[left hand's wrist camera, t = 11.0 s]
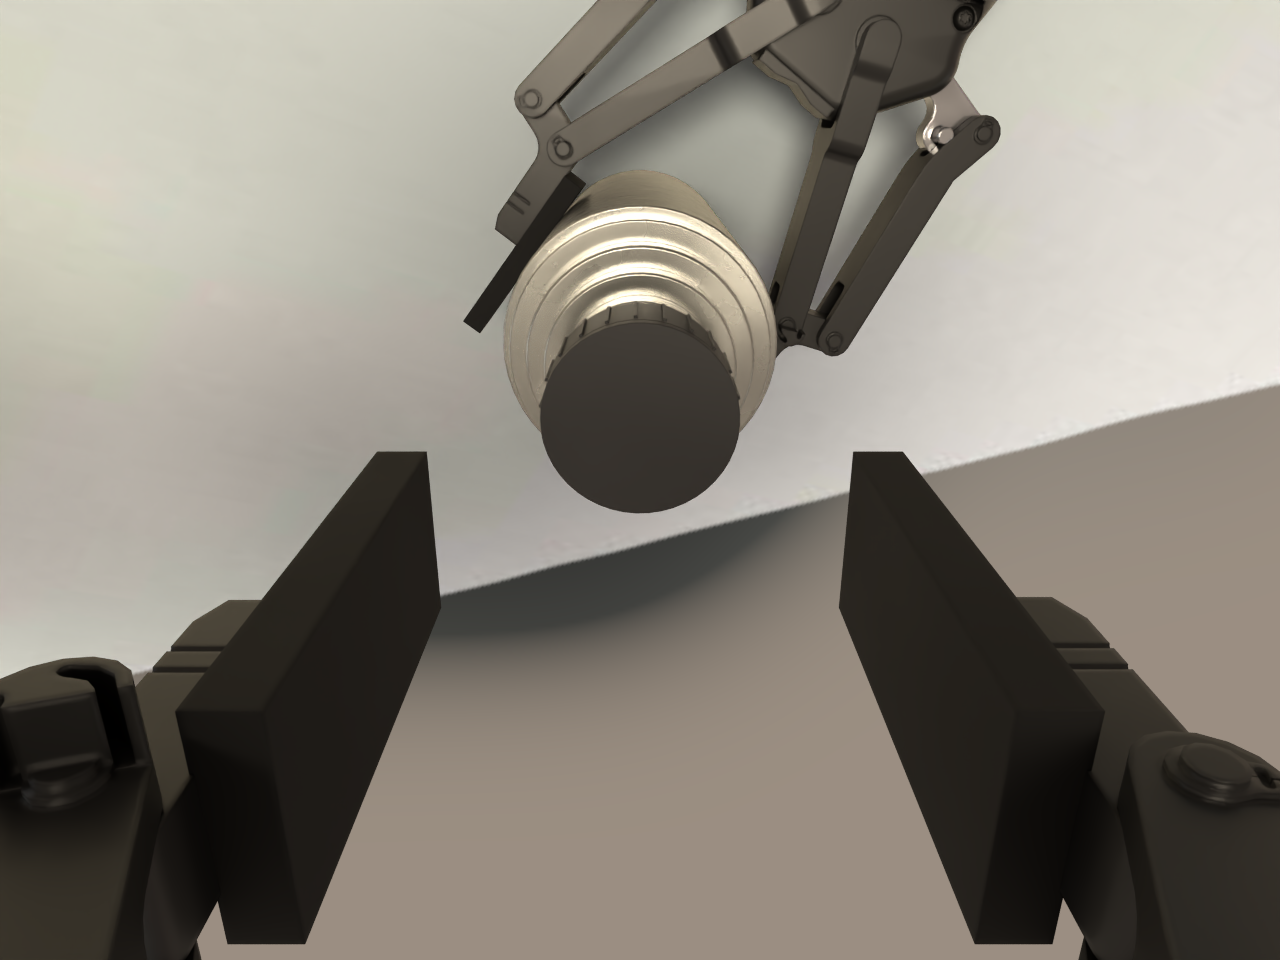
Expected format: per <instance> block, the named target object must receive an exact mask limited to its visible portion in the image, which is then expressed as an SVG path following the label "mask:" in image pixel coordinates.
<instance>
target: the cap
mask: <svg viewBox="0 0 1280 960" xmlns="http://www.w3.org/2000/svg"><path fill="white" fill-rule="evenodd" d="M731 373H732V370H731V367H730V364H729V361H728V359H727V356H726V353H725V352H723V353H722V351H721V350H720V348H719V346H718V345H717V343H716V342H715V340H714V339H713V336H712V333H711V331H710V330H709V331H708V332H707V331H706V330H705V329H704V328H703V327H702V326H701V325H700V324H698V323H697V322H696V321H694V320H693V319H692V318H691V315H690V314H687V315H685V314H683V313H681V312H679V311H677V310H674V309H671V308H669V307H666V306H665V304H662V305H657V304H648V303H638V301H634V303H631V304H625V305H619V306H615V307H612V308H611V306H608V307H607V309H606V310H604V311H602V312H599V313H597V314H595V315H594V316H592V317H590V318H589V319H586V318H585V319H583V321H582V324H581V325H579V326H578V327H577V328H576V329H575V330H574V331H573V332H572V333H571V334H570V335H569V336H568V337H566V336H565V338H564V339H563V342H562V345H561V348H560V350H559V352H558V354H557V356H556V358H555V360H554V359H552V361H551V364H550V367H549V369H548V372H547V375H546V378H545V381H547V384H546V387H545V390H544V392H543V395H542V398H541V401H540V404H539V408H541V409H540V427H541V434H542V439H543V443H544V446H545V449H546V451H547V454H548V456H549V458H550V460H551V462H552V464H553V466H554V467H555V469H556V470H557V472H558V473H559V474H560V476H561V477H562V478H563V479H564V480H565V481H566V482H567V483H568V485H570V486H571V487H572V488H573V489H574V490H575V491H577V492H578V493H579V494H581V495H582V496H584V497H585V498H587V499H588V500H590V501H592V502H594V503H596V504H598V505H601V506H603V507H606V508H609V509H612V510H617V511H621V512H629V513H652V512H659V511H664V510H667V509H671V508H674V507H677V506H679V505H682V504H684V503H686V502H688V501H690V500H692V499H693V498H695V497H697V496H698V495H700V494H701V493H702V492H704V491H705V490H706V489H707V488H708V487H709V486H711V485H712V484H713V483H714V482H715V481H716V479H717V478H718V477H719V476H720V475H721V473H722V472H723V471H724V469H725V467H726V466H727V464H728V463H729V461H730V459H731V457H732V454H733V452H734V450H735V447H736V443H737V440H738V436H739V429H740V407H739V400H740V395H739V392H738V390H737V387H736V384H735V381H734V378H733V377H731Z"/></svg>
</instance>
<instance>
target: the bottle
mask: <svg viewBox="0 0 1280 960" xmlns="http://www.w3.org/2000/svg"><path fill="white" fill-rule="evenodd" d="M634 301H638V303H648V304H657V305H662V304H665V306H666V307H669V308H671V309H674V310H677V311H679V312H681V313H683V314H685V315H687V314H690V315H691V318H692V319H693V320H694V321H696V322H697V323H698V324H700V325H701V326H702V327H703V328H704V329H705V330H706V331H707V332H708V331H709V330H710V331H711V333H712V336H713V339H714V340H715V342H716V343H717V345H718V346H719V348H720V350H721V351H722V353H723V352H725V353H726V356H727V359H728V361H729V364H730V367H731V370H732V373H731V377H733V378H734V381H735V384H736V387H737V390H738V392H739V395H740V400H739V407H740V429H739V432H740V431H741V430H742V429H743V428H744V427H745V425H746V424H747V423H748V422H749V421H750V419H751V418H752V417H753V415H754V414H755V412H756V410H757V409H758V407H759V405H760V404H761V402H762V400H763V398H764V396H765V393H766V391H767V389H768V387H769V383H770V380H771V377H772V374H773V370H774V364H775V358H776V351H777V330H776V321H775V315H774V311H773V306H772V302H771V299H770V296H769V294H768V291H767V289H766V286H765V283H764V282H763V280H762V278H761V276H760V274H759V273H758V271H757V269H756V267H755V266H754V265H753V263H752V262H751V261H750V259H749V258H748V257H747V255H746V254H745V253H744V251H743V250H742V249H741V247H740V246H739V245H738V243H737V242H736V241H735V239H734V238H733V237H732V235H731V234H730V233H729V231H728V230H727V229H726V228H725V226H724V225H723V224H722V222H721V221H720V220H719V218H718V217H717V216H716V214H715V213H714V212H713V210H712V209H711V208H710V206H709V205H708V204H707V202H706V201H705V200H704V199H703V198H702V197H701V196H700V195H699V194H698V193H697V192H696V191H695V190H694V189H692V188H691V187H690V186H689V185H687V184H686V183H684V182H682V181H680V180H679V179H677V178H674V177H672V176H669V175H667V174H663V173H659V172H656V171H647V170H632V171H626V172H620V173H617V174H614V175H610V176H608V177H606V178H604V179H602V180H599V181H598V182H596V183H595V184H593V185H592V186H590V187H589V188H588V189H586V190H585V191H584V192H583V193H582V194H581V195H580V196H579V197H578V198H577V199H576V200H575V201H574V203H573V204H572V205H571V206H570V208H569V209H568V210H567V212H566V213H565V214H564V216H563V217H562V218H561V220H560V221H559V222H558V223H557V225H556V226H555V227H554V229H553V230H552V231H551V233H550V234H549V235H548V237H547V238H546V239H545V241H544V242H543V243H542V245H541V246H540V247H539V249H538V250H537V251H536V252H535V254H534V255H533V256H532V258H531V259H530V261H529V262H528V264H527V265H526V267H525V268H524V270H523V271H522V273H521V274H520V276H519V278H518V280H517V283H516V285H515V287H514V289H513V291H512V294H511V297H510V300H509V303H508V306H507V311H506V317H505V322H504V336H503V346H504V358H505V364H506V368H507V373H508V377H509V380H510V383H511V385H512V388H513V391H514V393H515V395H516V397H517V399H518V401H519V403H520V405H521V407H522V409H523V410H524V412H525V413H526V415H527V416H528V418H529V419H530V420H531V422H532V423H533V424H534V425H535V426H536V428H537V429H538V430H539V431H540V432H541V427H540V409H541V408H539V404H540V401H541V398H542V395H543V392H544V390H545V387H546V384H547V381H545V378H546V375H547V372H548V369H549V367H550V364H551V361H552V359H554V360H555V358H556V356H557V354H558V352H559V350H560V348H561V345H562V342H563V339H564V338H565V336H566V337H568V336H569V335H570V334H571V333H572V332H573V331H574V330H575V329H576V328H577V327H578V326H579V325H581V324H582V321H583V319H585V318H586V319H589V318H590V317H592V316H594V315H595V314H597V313H599V312H602V311H604V310H606V309H607V307H608V306H611V308H612V307H615V306H619V305H625V304H631V303H634Z"/></svg>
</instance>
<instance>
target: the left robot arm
mask: <svg viewBox="0 0 1280 960" xmlns="http://www.w3.org/2000/svg"><path fill="white" fill-rule="evenodd" d="M440 609H441V602H440V591H439V580H438V569H437V558H436V547H435V537H434V526H433V515H432V504H431V493H430V482H429V472H428V461H427V452H377V453H376V454H375V455H374V456H373V458H372V459H371V460H370V462H369V463H368V464H367V465H366V467H365V468H364V469H363V471H362V472H361V473H360V474H359V476H358V477H357V478H356V480H355V481H354V482H353V483H352V485H351V486H350V487H349V489H348V490H347V491H346V492H345V494H344V495H343V496H342V498H341V499H340V500H339V501H338V503H337V504H336V505H335V506H334V508H333V509H332V510H331V512H330V513H329V514H328V515H327V517H326V518H325V519H324V521H323V522H322V523H321V524H320V526H319V527H318V528H317V530H316V531H315V532H314V533H313V535H312V536H311V537H310V539H309V540H308V541H307V542H306V544H305V545H304V546H303V548H302V549H301V550H300V551H299V553H298V554H297V555H296V556H295V558H294V559H293V560H292V562H291V563H290V564H289V565H288V567H287V568H286V569H285V571H284V572H283V573H282V574H281V576H280V577H279V578H278V580H277V581H276V582H275V583H274V585H273V586H272V587H271V589H270V590H269V591H268V592H267V594H266V595H265V596H264V598H263V599H262V600H228V601H226V602H225V603H223V604H221V605H220V606H218V607H216V608H215V609H213V610H212V611H210V612H208V613H207V614H205V615H203V616H202V617H200V618H198V619H197V620H195V621H193V622H192V623H191V625H190V626H189V627H188V628H187V629H186V630H185V631H184V633H183V634H182V635H181V636H180V637H179V638H178V639H177V640H176V642H175V643H174V644H173V645H172V646H171V652H166V653H165V654H164V655H163V656H162V657H161V659H160V660H159V661H158V662H157V663H156V664H155V665H154V667H153V672H152V673H147V674H146V676H145V677H144V678H143V679H142V680H141V681H140V682H139V684H138V685H137V686H136V687H135V684H134V680H133V676H132V672H131V670H130V669H128V668H127V667H126V666H124V665H123V664H121V663H120V662H118V661H116V660H110V659H104V658H98V657H82V658H68V659H61V660H56V661H52V662H48V663H44V664H40V665H36V666H32V667H28V668H26V669H24V670H21V671H19V672H16V673H14V674H11V675H9V676H6V677H4V678H1V679H0V960H201V956H200V951H199V947H198V943H197V938H198V936H199V935H200V933H201V931H202V929H203V927H204V925H205V923H206V922H207V920H208V918H209V916H210V914H211V912H212V910H213V909H214V907H215V905H216V903H217V901H218V904H219V908H220V913H221V917H222V922H223V926H224V931H225V935H226V939H227V944H305V943H306V941H307V938H308V936H309V933H310V931H311V928H312V926H313V923H314V921H315V918H316V916H317V914H318V911H319V908H320V906H321V904H322V901H323V899H324V896H325V894H326V891H327V889H328V886H329V884H330V881H331V879H332V876H333V874H334V871H335V869H336V866H337V864H338V861H339V859H340V856H341V854H342V852H343V849H344V847H345V844H346V842H347V839H348V837H349V834H350V832H351V829H352V827H353V824H354V822H355V819H356V817H357V814H358V812H359V809H360V807H361V805H362V802H363V800H364V797H365V795H366V792H367V790H368V787H369V785H370V782H371V780H372V777H373V775H374V772H375V770H376V767H377V765H378V762H379V760H380V757H381V755H382V753H383V750H384V747H385V745H386V743H387V740H388V738H389V735H390V732H391V730H392V728H393V725H394V723H395V720H396V718H397V715H398V713H399V710H400V708H401V705H402V703H403V701H404V698H405V696H406V693H407V691H408V688H409V686H410V683H411V681H412V678H413V676H414V673H415V671H416V668H417V666H418V663H419V661H420V658H421V656H422V653H423V651H424V648H425V646H426V644H427V641H428V639H429V636H430V634H431V631H432V629H433V626H434V624H435V621H436V619H437V616H438V614H439V611H440ZM839 609H840V611H841V614H842V616H843V619H844V621H845V624H846V626H847V629H848V631H849V634H850V636H851V638H852V641H853V644H854V646H855V648H856V651H857V653H858V656H859V658H860V661H861V663H862V666H863V668H864V671H865V673H866V676H867V678H868V681H869V683H870V686H871V688H872V691H873V693H874V696H875V698H876V701H877V703H878V705H879V708H880V710H881V713H882V715H883V718H884V720H885V723H886V725H887V728H888V730H889V733H890V735H891V738H892V740H893V743H894V745H895V748H896V750H897V753H898V755H899V757H900V760H901V762H902V765H903V767H904V770H905V772H906V775H907V777H908V780H909V782H910V785H911V787H912V790H913V792H914V795H915V797H916V800H917V802H918V804H919V807H920V809H921V812H922V814H923V817H924V819H925V822H926V824H927V827H928V829H929V832H930V834H931V837H932V839H933V842H934V844H935V847H936V849H937V852H938V854H939V857H940V859H941V861H942V864H943V866H944V869H945V871H946V874H947V876H948V879H949V881H950V884H951V886H952V889H953V891H954V894H955V896H956V899H957V901H958V904H959V906H960V909H961V911H962V913H963V916H964V918H965V921H966V923H967V926H968V928H969V931H970V933H971V936H972V938H973V941H974V943H975V944H1053V939H1054V935H1055V931H1056V926H1057V922H1058V917H1059V913H1060V909H1061V904H1062V900H1063V898H1064V900H1065V902H1066V904H1067V906H1068V907H1069V909H1070V911H1071V913H1072V915H1073V917H1074V919H1075V921H1076V922H1077V924H1078V926H1079V928H1080V930H1081V932H1082V934H1083V935H1084V939H1083V943H1082V948H1081V952H1080V956H1079V960H1280V771H1278V770H1277V769H1276V768H1274V767H1273V766H1271V765H1270V764H1269V763H1267V762H1266V761H1265V760H1263V759H1262V758H1261V757H1259V756H1257V755H1255V754H1253V753H1251V752H1249V751H1246V750H1244V749H1242V748H1240V747H1238V746H1236V745H1234V744H1231V743H1229V742H1227V741H1223V740H1219V739H1216V738H1212V737H1208V736H1205V735H1201V734H1198V733H1189V732H1188V731H1187V730H1186V729H1185V728H1184V727H1183V726H1182V724H1181V723H1180V722H1179V721H1178V720H1177V719H1176V718H1175V717H1174V715H1173V714H1172V713H1171V712H1170V711H1169V710H1168V709H1167V708H1166V706H1165V705H1164V704H1163V703H1162V702H1161V701H1160V700H1159V699H1158V697H1157V696H1156V695H1155V694H1154V693H1153V692H1152V691H1151V690H1150V688H1149V687H1148V686H1147V685H1146V684H1145V683H1144V682H1143V681H1142V679H1141V678H1140V677H1139V676H1138V675H1137V674H1136V673H1135V671H1134V670H1132V669H1128V664H1127V662H1126V661H1125V660H1124V659H1123V658H1122V657H1121V656H1120V655H1119V653H1118V652H1117V651H1116V650H1115V649H1114V648H1110V646H1109V642H1108V641H1107V640H1106V639H1105V638H1104V637H1103V635H1102V634H1101V633H1100V632H1099V631H1098V630H1097V629H1096V628H1095V626H1094V625H1093V624H1092V623H1091V622H1090V621H1089V620H1088V619H1087V618H1086V617H1084V616H1082V615H1081V614H1079V613H1077V612H1076V611H1074V610H1072V609H1071V608H1069V607H1067V606H1066V605H1064V604H1062V603H1061V602H1059V601H1057V600H1056V599H1054V598H1052V597H1016V596H1015V595H1014V594H1013V592H1012V591H1011V590H1010V589H1009V587H1008V586H1007V585H1006V583H1005V582H1004V581H1003V580H1002V578H1001V577H1000V576H999V574H998V573H997V572H996V571H995V569H994V568H993V567H992V565H991V564H990V563H989V562H988V560H987V559H986V558H985V556H984V555H983V554H982V553H981V551H980V550H979V549H978V548H977V546H976V545H975V544H974V542H973V541H972V540H971V539H970V537H969V536H968V535H967V533H966V532H965V531H964V530H963V528H962V527H961V526H960V524H959V523H958V522H957V521H956V519H955V518H954V517H953V515H952V514H951V513H950V512H949V510H948V509H947V508H946V506H945V505H944V504H943V503H942V501H941V500H940V499H939V498H938V496H937V495H936V494H935V492H934V491H933V490H932V489H931V487H930V486H929V485H928V483H927V482H926V481H925V480H924V478H923V477H922V476H921V474H920V473H919V472H918V471H917V469H916V468H915V467H914V465H913V464H912V463H911V462H910V460H909V459H908V458H907V456H906V455H905V454H904V453H903V452H853V461H852V472H851V482H850V493H849V504H848V515H847V526H846V537H845V548H844V558H843V569H842V580H841V591H840V602H839Z"/></svg>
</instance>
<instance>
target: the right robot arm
mask: <svg viewBox="0 0 1280 960" xmlns="http://www.w3.org/2000/svg"><path fill="white" fill-rule="evenodd" d="M656 1H657V0H597V2H596V3H595V4H594V5H593V6H592V7H591V8H590V9H589V10H588V11H587V12H586V13H585V15H584V16H583V17H582V18H581V19H580V20H579V21H578V22H577V23H576V24H575V25H574V26H573V28H572V29H571V30H570V31H569V32H568V33H567V34H566V35H565V36H564V37H563V38H562V40H561V41H560V42H559V43H558V44H557V45H556V46H555V47H554V48H553V49H552V50H551V51H550V53H549V54H548V55H547V56H546V57H545V58H544V59H543V60H542V61H541V62H540V63H539V64H538V66H537V67H536V68H535V69H534V70H533V71H532V72H531V73H530V74H529V75H528V76H527V78H526V79H525V80H524V81H523V82H522V83H521V84H520V85H519V87H518V88H517V90H516V92H515V98H514V100H515V105H516V107H517V109H518V110H519V112H520V113H521V114H522V115H523V116H524V118H525V119H526V121H527V122H528V124H529V125H530V127H531V129H532V130H533V132H534V133H535V135H536V137H537V140H538V144H539V150H538V155H537V157H536V159H535V161H534V163H533V164H532V165H531V167H530V168H529V170H528V171H527V173H526V174H525V176H524V177H523V179H522V180H521V182H520V183H519V185H518V186H517V188H516V189H515V190H514V192H513V193H512V195H511V196H510V198H509V199H508V201H507V202H506V204H505V205H504V207H503V208H502V210H501V211H500V212H499V214H498V217H497V222H496V227H495V230H497V231H498V232H499V233H501V234H502V235H503V236H505V237H506V238H507V239H509V240H510V241H511V242H513V243H514V244H515V245H516V246H515V248H514V249H513V250H512V252H511V253H510V255H509V256H508V258H507V259H506V261H505V262H504V263H503V265H502V266H501V268H500V269H499V271H498V272H497V273H496V275H495V276H494V278H493V279H492V281H491V282H490V284H489V285H488V286H487V288H486V289H485V291H484V292H483V294H482V295H481V296H480V298H479V299H478V301H477V302H476V304H475V305H474V307H473V308H472V309H471V311H470V312H469V314H468V315H467V317H466V318H465V319H464V321H463V322H465V323H466V324H468V325H469V326H470V327H472V328H473V329H475V330H476V331H477V332H479V333H481V331H482V330H483V329H484V327H485V326H486V324H487V323H488V322H489V320H490V319H491V318H492V316H493V315H494V313H495V312H496V311H497V309H498V308H499V306H500V305H501V303H502V302H503V301H504V299H505V298H506V296H507V295H508V294H509V292H510V291H511V289H512V288H513V286H514V285H515V284H516V282H517V280H518V278H519V276H520V274H521V273H522V271H523V270H524V268H525V267H526V265H527V264H528V262H529V261H530V259H531V258H532V256H533V255H534V254H535V252H536V251H537V250H538V249H539V247H540V246H541V245H542V243H543V242H544V241H545V239H546V238H547V237H548V235H549V234H550V233H551V231H552V230H553V229H554V227H555V226H556V225H557V223H558V222H559V221H560V220H561V218H562V217H563V216H564V214H565V213H566V211H567V210H568V209H569V207H570V206H571V204H572V203H573V202H574V200H575V199H576V197H577V196H578V194H579V193H580V192H581V190H582V189H583V187H584V186H585V185H586V183H585V182H583V181H582V180H581V179H579V178H578V177H577V176H576V175H574V174H573V173H572V172H571V170H572V169H573V168H574V166H575V165H576V163H577V162H578V161H579V160H581V159H583V158H584V157H586V156H587V155H589V154H591V153H592V152H594V151H596V150H597V149H599V148H600V147H602V146H604V145H605V144H607V143H609V142H610V141H612V140H613V139H615V138H617V137H618V136H620V135H622V134H623V133H625V132H626V131H628V130H630V129H631V128H633V127H635V126H636V125H638V124H639V123H641V122H643V121H644V120H646V119H648V118H649V117H651V116H652V115H654V114H656V113H657V112H659V111H661V110H662V109H664V108H665V107H667V106H669V105H670V104H672V103H674V102H675V101H677V100H678V99H680V98H682V97H683V96H685V95H687V94H688V93H690V92H691V91H693V90H695V89H696V88H698V87H700V86H701V85H703V84H704V83H706V82H708V81H709V80H711V79H713V78H714V77H716V76H717V75H719V74H721V73H722V72H724V71H726V70H727V69H729V68H731V67H732V66H734V65H735V64H737V63H739V62H740V61H742V60H744V59H745V58H747V57H749V56H750V55H751V57H752V58H753V60H754V61H753V62H752V63H753V64H754V65H756V66H757V67H758V68H759V69H760V70H761V71H763V72H764V73H765V74H766V75H767V76H768V77H771V78H773V79H775V80H777V81H779V82H782V83H784V84H786V85H788V86H789V87H790V89H791V90H792V92H793V93H794V95H795V96H796V98H797V99H798V101H799V103H800V104H801V105H802V106H803V107H804V108H805V109H806V110H808V111H809V112H810V113H811V114H812V115H813V116H814V117H816V118H820V121H819V124H818V127H817V130H816V134H815V137H814V141H813V150H812V155H811V158H810V161H809V164H808V168H807V171H806V174H805V177H804V181H803V184H802V187H801V190H800V194H799V197H798V200H797V203H796V207H795V210H794V213H793V216H792V220H791V223H790V226H789V229H788V233H787V236H786V239H785V242H784V246H783V249H782V252H781V255H780V258H779V262H778V265H777V268H776V271H775V275H774V278H773V281H772V284H771V288H770V291H769V296H770V299H771V302H772V306H773V311H774V315H775V321H776V330H777V351H776V357H777V356H778V355H779V354H780V352H782V351H783V350H784V349H785V348H787V347H788V346H794V345H803V346H807V347H810V348H813V349H816V350H819V351H822V352H823V353H824V354H826V355H829V356H838V355H840V354H842V353H844V352H845V351H846V349H847V348H848V347H849V345H850V344H851V342H852V341H853V339H854V337H855V336H856V334H857V333H858V331H859V329H860V328H861V326H862V325H863V323H864V322H865V320H866V318H867V317H868V315H869V314H870V312H871V310H872V309H873V307H874V306H875V304H876V303H877V301H878V299H879V298H880V296H881V295H882V293H883V291H884V290H885V288H886V287H887V285H888V284H889V282H890V280H891V279H892V277H893V276H894V274H895V272H896V271H897V269H898V268H899V266H900V265H901V263H902V261H903V260H904V258H905V257H906V255H907V253H908V252H909V250H910V249H911V247H912V246H913V244H914V242H915V241H916V239H917V238H918V236H919V234H920V233H921V231H922V230H923V228H924V227H925V225H926V223H927V222H928V220H929V219H930V217H931V215H932V214H933V212H934V211H935V209H936V208H937V206H938V204H939V203H940V201H941V200H942V198H943V196H944V195H945V193H946V192H947V190H948V189H949V187H950V185H951V184H952V182H953V181H954V180H955V179H956V178H957V177H959V176H960V175H961V174H962V173H963V172H964V171H966V170H967V169H968V168H969V167H970V166H972V165H973V164H974V163H975V162H976V161H977V160H979V159H980V158H981V157H982V156H983V155H985V154H986V153H987V152H988V151H989V150H991V149H992V148H993V147H994V146H995V144H996V143H997V142H998V140H999V137H1000V125H999V123H998V121H997V120H996V119H995V118H994V117H991V116H988V115H980V114H979V113H978V111H977V110H976V109H975V107H974V106H973V104H972V103H971V101H970V100H969V99H968V97H967V96H966V94H965V93H964V91H963V90H962V89H961V87H960V86H959V84H958V83H957V81H956V80H955V79H954V75H955V73H956V71H957V68H958V65H959V60H960V56H961V52H962V50H963V47H964V45H965V43H966V41H967V39H968V37H969V35H970V34H971V32H972V31H973V30H974V29H975V27H976V26H977V25H978V24H979V22H980V21H981V20H982V19H983V17H984V16H985V15H986V14H987V12H988V11H989V10H990V9H991V7H992V6H993V5H994V4H995V2H996V1H997V0H747V11H746V13H745V14H743V15H742V16H740V17H738V18H737V19H735V20H734V21H732V22H730V23H729V24H727V25H726V26H724V27H722V28H721V29H719V30H718V31H716V32H715V33H713V34H712V35H710V36H709V37H707V38H706V39H704V40H702V41H701V42H699V43H698V44H696V45H694V46H693V47H691V48H690V49H688V50H686V51H685V52H683V53H682V54H680V55H678V56H677V57H675V58H674V59H672V60H670V61H669V62H667V63H666V64H664V65H663V66H661V67H659V68H658V69H656V70H655V71H653V72H651V73H650V74H648V75H647V76H645V77H643V78H642V79H640V80H639V81H637V82H635V83H634V84H632V85H631V86H629V87H627V88H626V89H624V90H623V91H621V92H619V93H618V94H616V95H615V96H613V97H611V98H610V99H608V100H607V101H605V102H603V103H602V104H600V105H599V106H597V107H595V108H594V109H592V110H591V111H589V112H587V113H586V114H584V115H583V116H581V117H579V118H578V119H576V120H575V121H573V122H571V121H570V120H569V118H568V117H567V115H566V113H565V112H564V110H563V109H562V107H561V105H560V103H561V102H562V101H563V99H564V98H565V97H566V96H567V95H568V94H569V93H570V92H571V91H572V90H573V89H574V88H575V87H576V86H577V85H578V84H579V82H580V81H581V80H582V79H583V78H584V77H585V76H586V75H587V74H588V73H589V72H590V71H591V70H592V69H593V68H594V67H595V66H596V64H597V63H598V62H599V61H600V60H601V59H602V58H603V57H604V56H605V55H606V54H607V53H608V52H609V51H610V50H611V49H612V47H613V46H614V45H615V44H616V43H617V42H618V41H619V40H620V39H621V38H622V37H623V36H624V35H625V34H626V33H627V32H628V31H629V29H630V28H631V27H632V26H633V25H634V24H635V23H636V22H637V21H638V20H639V19H640V18H641V17H642V16H643V15H644V14H645V12H646V11H647V10H648V9H649V8H650V7H651V6H652V5H653V4H654V3H655V2H656ZM920 99H924V101H925V102H926V107H927V110H926V115H925V118H924V120H923V121H922V123H921V124H920V126H919V127H918V129H917V132H916V142H917V144H918V146H919V149H918V150H917V151H916V152H915V153H914V154H913V155H912V157H911V158H910V159H909V160H908V161H907V163H906V164H905V166H904V167H903V168H902V170H901V171H900V173H899V175H898V176H897V178H896V179H895V181H894V183H893V184H892V186H891V188H890V189H889V191H888V193H887V194H886V196H885V198H884V199H883V201H882V202H881V204H880V206H879V207H878V209H877V211H876V212H875V214H874V216H873V217H872V219H871V221H870V222H869V224H868V225H867V227H866V229H865V230H864V232H863V234H862V235H861V237H860V239H859V240H858V242H857V244H856V245H855V247H854V248H853V250H852V252H851V253H850V255H849V257H848V258H847V260H846V262H845V263H844V265H843V267H842V268H841V270H840V271H839V273H838V275H837V276H836V278H835V280H834V281H833V283H832V285H831V286H830V288H829V289H828V291H827V293H826V294H825V296H824V298H823V299H822V301H821V303H820V304H819V306H818V308H817V309H816V311H815V310H811V309H809V308H810V305H811V302H812V299H813V296H814V293H815V290H816V287H817V284H818V281H819V277H820V274H821V271H822V268H823V265H824V262H825V259H826V256H827V253H828V250H829V247H830V244H831V241H832V238H833V235H834V232H835V229H836V225H837V222H838V219H839V216H840V213H841V210H842V207H843V204H844V201H845V198H846V195H847V192H848V189H849V186H850V183H851V180H852V177H853V173H854V170H855V167H856V165H857V162H858V161H859V159H860V158H861V156H862V154H863V152H864V150H865V147H866V144H867V141H868V138H869V135H870V132H871V129H872V126H873V123H874V120H875V117H876V114H877V113H879V112H882V111H885V110H889V109H892V108H895V107H898V106H901V105H904V104H908V103H911V102H914V101H917V100H920Z"/></svg>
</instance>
